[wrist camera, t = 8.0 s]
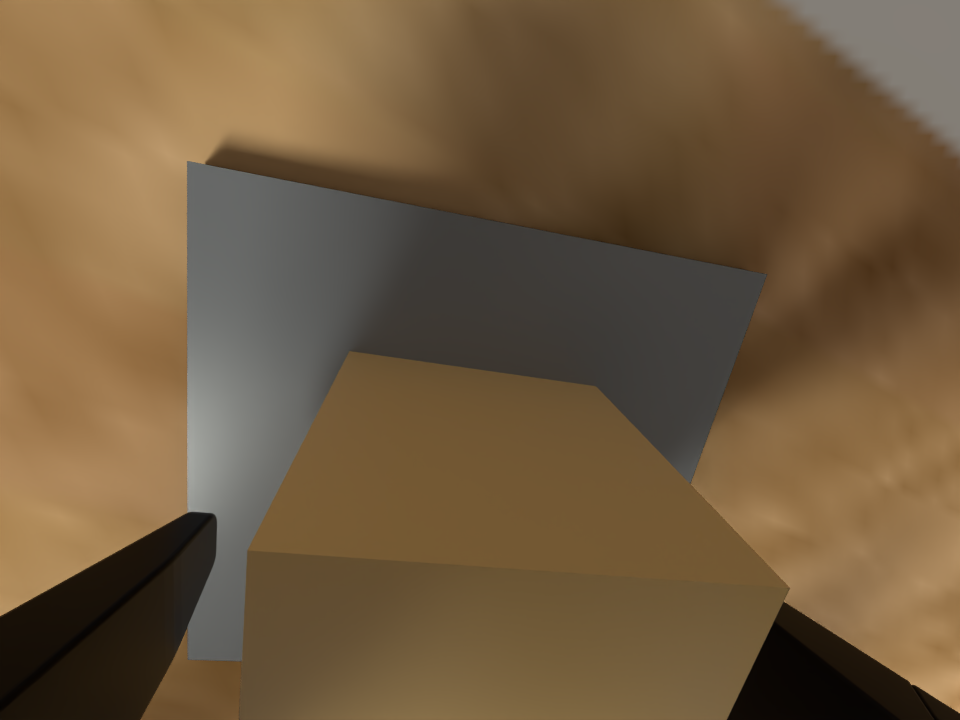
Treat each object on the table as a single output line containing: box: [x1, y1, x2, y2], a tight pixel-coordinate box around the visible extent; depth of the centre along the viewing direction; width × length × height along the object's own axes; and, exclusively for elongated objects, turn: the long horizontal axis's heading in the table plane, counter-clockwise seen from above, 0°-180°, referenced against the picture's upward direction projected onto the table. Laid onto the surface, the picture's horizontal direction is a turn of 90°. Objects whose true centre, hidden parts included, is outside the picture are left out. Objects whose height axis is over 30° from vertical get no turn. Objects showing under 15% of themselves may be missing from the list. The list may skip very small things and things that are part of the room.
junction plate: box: [187, 161, 767, 661], centre depth 10 cm, size 12×12×4 cm
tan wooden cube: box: [239, 351, 790, 720], centre depth 8 cm, size 6×6×6 cm
